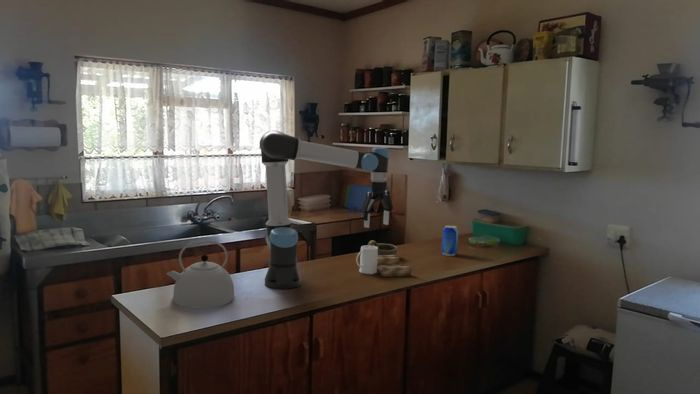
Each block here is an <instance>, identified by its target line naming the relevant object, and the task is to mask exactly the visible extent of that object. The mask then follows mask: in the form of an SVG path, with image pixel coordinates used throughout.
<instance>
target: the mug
mask: <svg viewBox="0 0 700 394" xmlns="http://www.w3.org/2000/svg"><path fill="white" fill-rule="evenodd" d="M372 245H373V244H372ZM372 245H368V244H367V245H361V247H360V251H359V252H358V253H357V255H356V257H355V258H356V259H355V261H356V264H357V266H358V267H359V271H358V272H359V273H361V274H364V273H365V275H375V274H377V273H378V272H377V255H378V247H376V246H372ZM359 256H360V257H359ZM359 258H360V259H359ZM358 260H360V261H358ZM374 273H375V274H374Z"/></svg>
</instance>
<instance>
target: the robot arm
mask: <svg viewBox="0 0 700 394" xmlns="http://www.w3.org/2000/svg"><path fill="white" fill-rule="evenodd" d="M259 149H260V152H261V153H260V155H261V163H262V164H263V165H264V166H265V177H266V179H265V181H266V194H267V196H266V197H267V209H268V211H267V212H268V220H267V221H266V222H265V239H264V240H265V242H266V244H267V246H268V248H269V264H268V269H267V271H266V274H265V277H264V285H265V286H266V287H268V288H271V289H276V290H277V289H278V290H289V289H294V288H297V287H299V286H300V285H301V276H300V273H299V270H298V267H297V266H298V244H299V243H298V242H299V235H298V232H297V230H295V229H293V224H292V223H293V222H292V220H291V219H290V218H289V210H288V196H287V195H288V194H287V192H288V191H287V172H286V165H287V164H288V163H289V161H296V160H299V159H300V160H304V161H310V162H316V163H322V164H327V165H333V166H334V165H335V166H338V167H339V166H340V167H345V168H352V169H357V170H361V171H366V172H370V180H371V181H370V190H371V192H370V191H366V194H365V198H364V201H363V203H362V206H361V208H360V213H362V214H363V228H367V229H369V228H370V221H371V220H370V218H371V213H370V212H371V210H372V209H373V207H374V205H375V204H376V203H377V202H380V203H381V205H382V207H383V208H384V210H383V218H382V221H383V223H382V224H383V225H386V226H388V225H389V222H390V221H389V220H390V212H392V211H393V209H394V207H393V203H392V199H391V195H390V192H391V191H390V190H387V188H388V187H387V186H388V182H387V180H388V168H389V160H390V159H389V158H390V157H389V149H388V148H386V147H373V148H372V150H371V151H362V150H360V151H359V150H354V149H353V150H352V149H348V148H343V147H336V146H332V145H327V144H321V143H317V142H316V143H315V142H310V141H304V140H301V139H300V137H299V136H298V137H297V136H292V135H289V134H286V133H284V132H282V131H278V130H269V131H266V132H265V133H264V134H263V135H262V136H261V137H260V139H259Z"/></svg>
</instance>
